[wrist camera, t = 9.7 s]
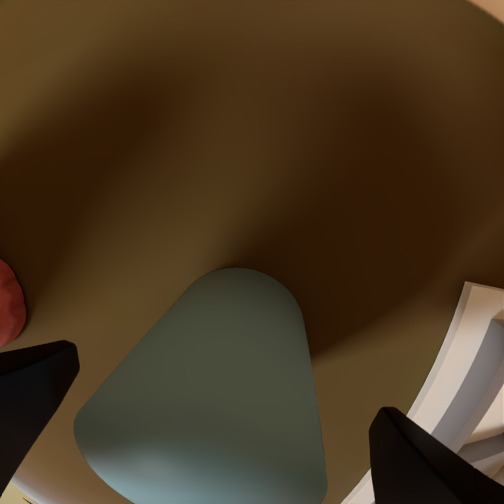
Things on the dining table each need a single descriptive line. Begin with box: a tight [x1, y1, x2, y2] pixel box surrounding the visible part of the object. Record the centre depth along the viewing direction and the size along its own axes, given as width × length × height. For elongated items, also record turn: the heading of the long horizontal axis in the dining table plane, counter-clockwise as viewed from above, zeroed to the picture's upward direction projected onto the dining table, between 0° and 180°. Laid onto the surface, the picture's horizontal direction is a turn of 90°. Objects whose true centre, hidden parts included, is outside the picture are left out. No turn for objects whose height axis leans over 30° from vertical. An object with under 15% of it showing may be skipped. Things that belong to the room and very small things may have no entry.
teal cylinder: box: [74, 268, 327, 504], centre depth 7 cm, size 5×5×7 cm
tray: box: [341, 281, 504, 504], centre depth 10 cm, size 23×14×2 cm, turn 171°
